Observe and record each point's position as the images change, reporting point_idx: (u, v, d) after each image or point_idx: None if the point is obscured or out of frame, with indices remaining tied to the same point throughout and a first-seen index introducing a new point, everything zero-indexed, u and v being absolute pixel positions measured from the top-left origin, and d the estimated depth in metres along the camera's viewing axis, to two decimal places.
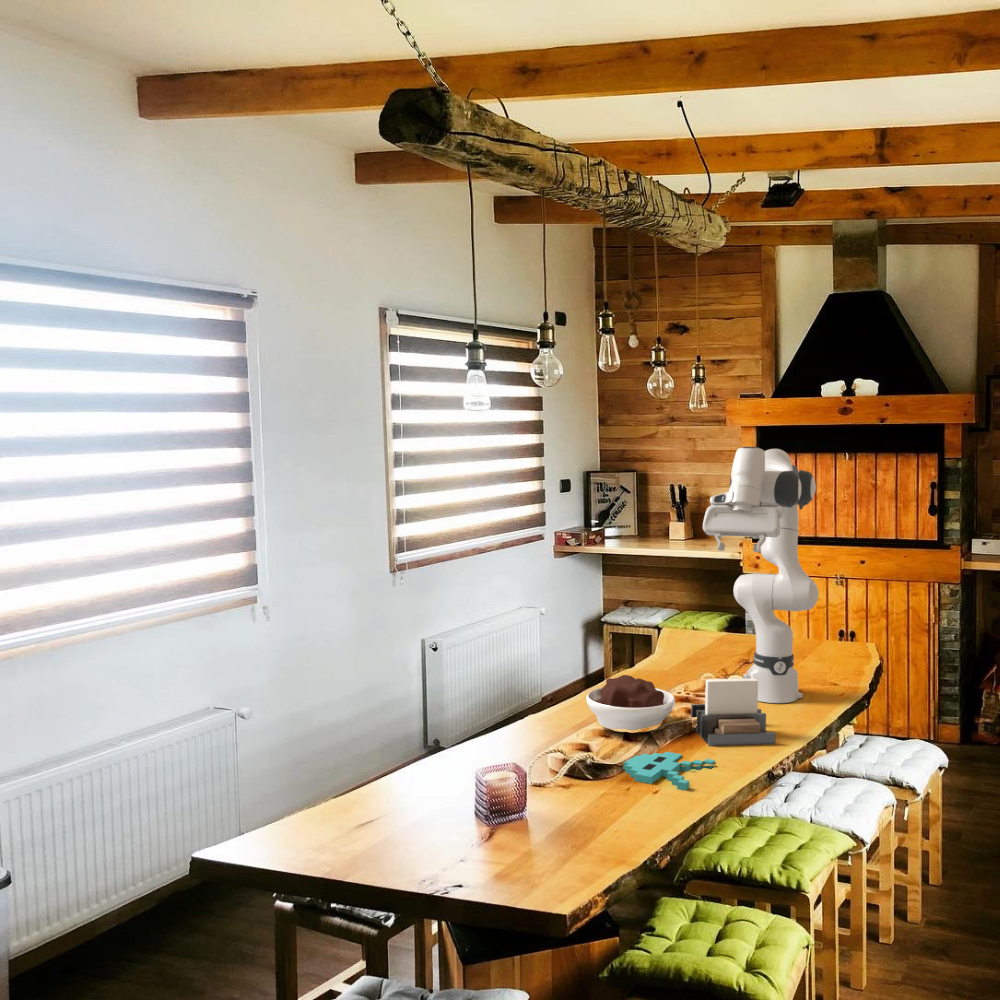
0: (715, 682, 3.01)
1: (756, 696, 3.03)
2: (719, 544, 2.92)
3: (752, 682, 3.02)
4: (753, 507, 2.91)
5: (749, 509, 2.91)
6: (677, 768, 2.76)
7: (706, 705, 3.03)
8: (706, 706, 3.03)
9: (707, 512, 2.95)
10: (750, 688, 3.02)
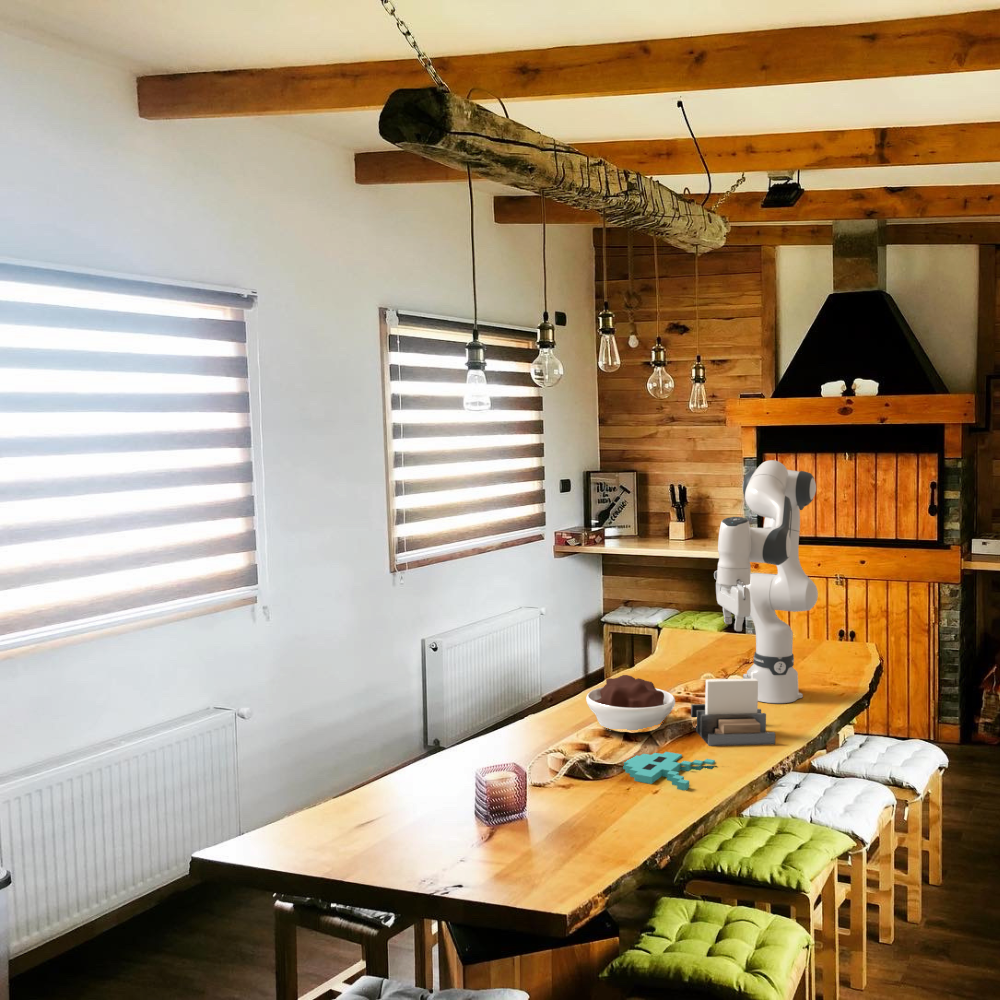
0: (715, 682, 3.01)
1: (756, 696, 3.03)
2: (724, 619, 3.06)
3: (752, 682, 3.02)
4: (731, 586, 2.97)
5: (727, 589, 2.98)
6: (677, 768, 2.76)
7: (706, 705, 3.03)
8: (706, 706, 3.03)
9: (716, 586, 3.09)
10: (750, 688, 3.02)
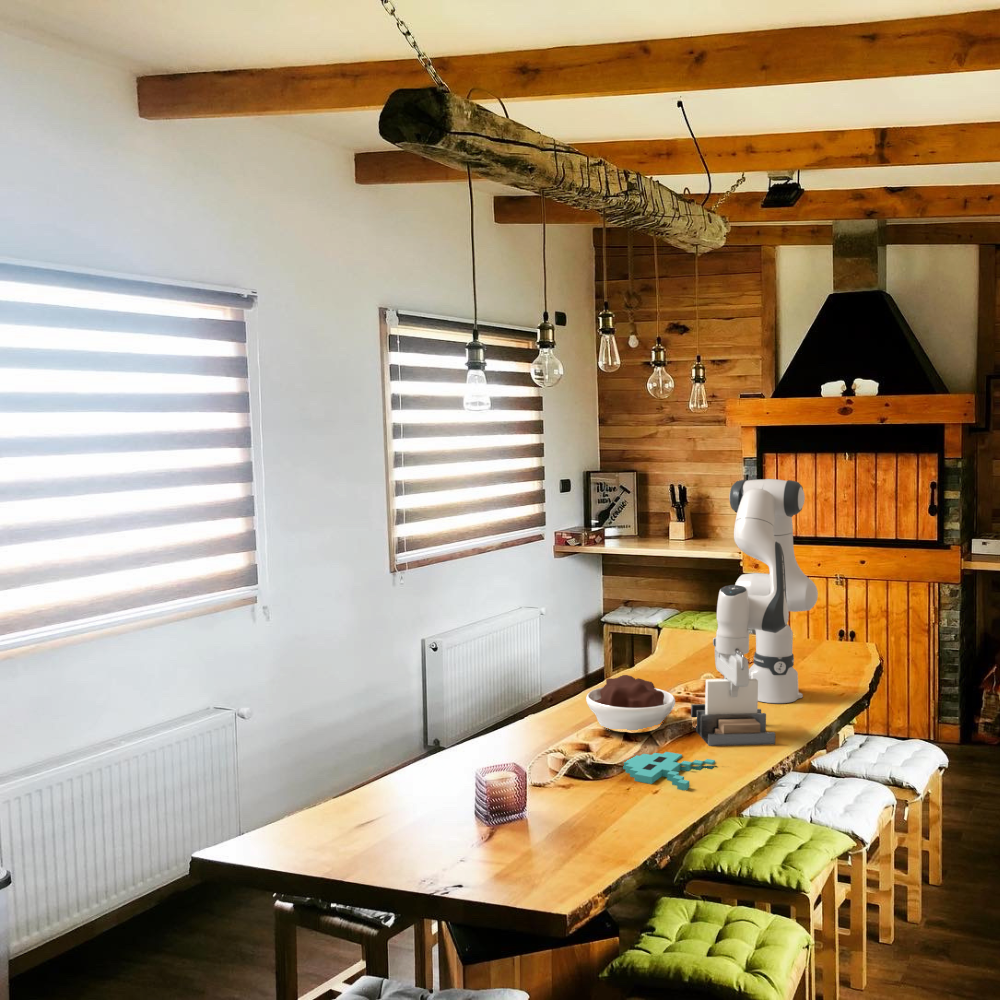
0: (715, 682, 3.01)
1: (756, 696, 3.03)
2: None
3: (752, 682, 3.02)
4: (729, 655, 2.99)
5: (726, 657, 3.00)
6: (677, 768, 2.76)
7: (706, 705, 3.03)
8: (706, 706, 3.03)
9: None
10: (750, 688, 3.02)
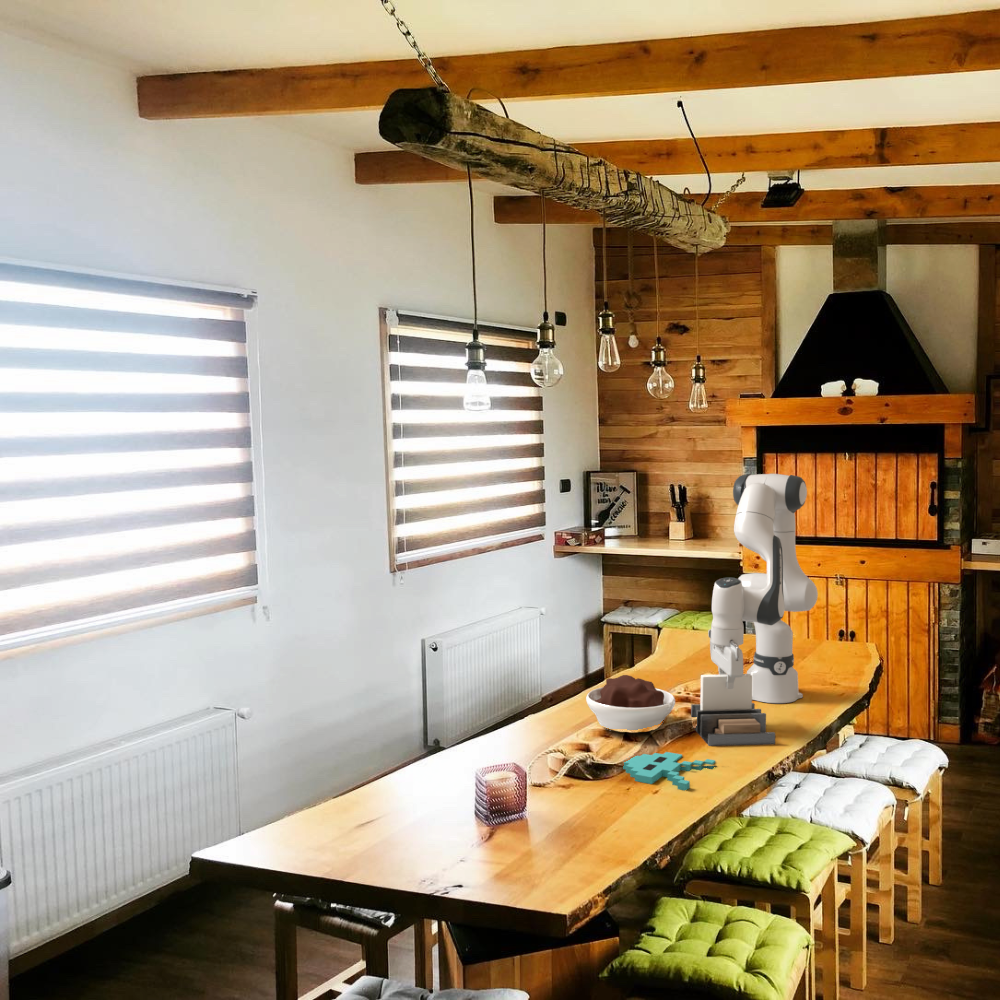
0: (710, 677, 3.07)
1: (750, 691, 3.08)
2: None
3: (746, 677, 3.07)
4: (724, 646, 3.04)
5: (721, 649, 3.05)
6: (677, 768, 2.76)
7: (701, 700, 3.08)
8: (701, 701, 3.08)
9: (710, 644, 3.16)
10: (745, 683, 3.07)
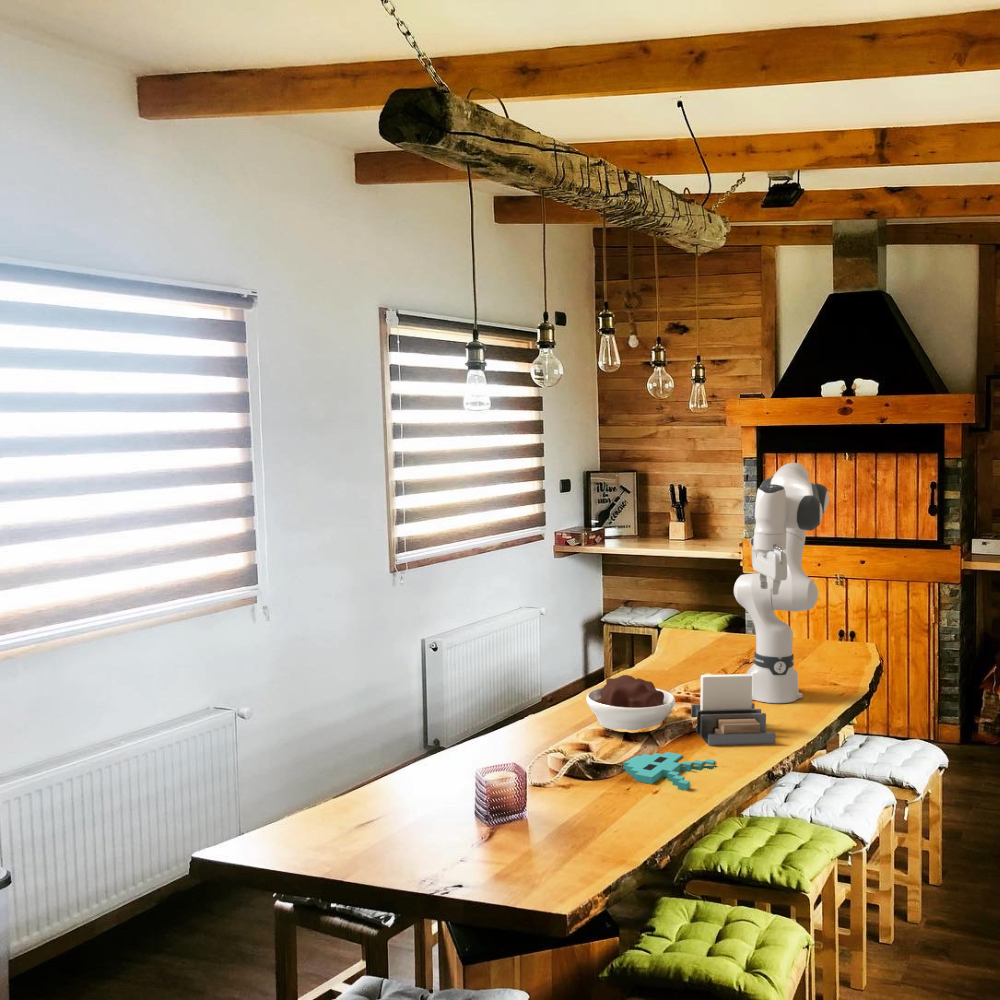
0: (710, 677, 3.06)
1: (750, 691, 3.08)
2: (760, 584, 3.16)
3: (746, 677, 3.07)
4: (767, 551, 3.07)
5: (764, 554, 3.08)
6: (677, 768, 2.76)
7: (701, 700, 3.08)
8: (701, 701, 3.08)
9: None
10: (745, 683, 3.07)
